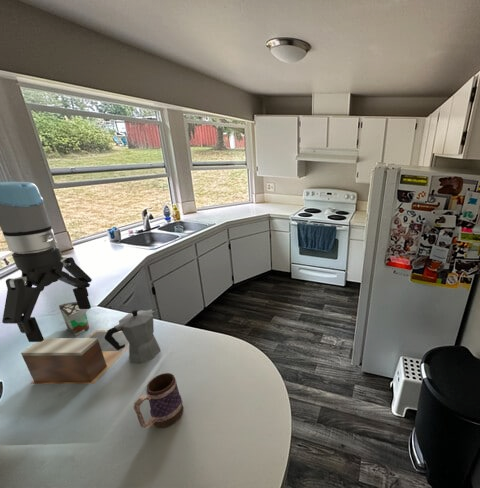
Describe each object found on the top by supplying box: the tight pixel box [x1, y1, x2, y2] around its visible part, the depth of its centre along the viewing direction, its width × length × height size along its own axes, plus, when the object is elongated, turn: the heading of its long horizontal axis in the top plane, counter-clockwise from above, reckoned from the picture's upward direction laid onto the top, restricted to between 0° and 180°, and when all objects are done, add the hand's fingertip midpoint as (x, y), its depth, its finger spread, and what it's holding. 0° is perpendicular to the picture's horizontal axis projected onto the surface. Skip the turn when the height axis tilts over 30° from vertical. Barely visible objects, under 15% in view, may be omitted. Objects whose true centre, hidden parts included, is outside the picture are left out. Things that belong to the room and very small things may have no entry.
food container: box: [58, 301, 90, 337], centre depth 96 cm, size 12×6×10 cm, turn 58°
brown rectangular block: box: [20, 337, 107, 383], centre depth 75 cm, size 16×6×11 cm, turn 93°
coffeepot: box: [105, 308, 161, 364], centre depth 82 cm, size 15×9×18 cm, turn 153°
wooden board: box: [29, 329, 129, 385], centre depth 85 cm, size 18×24×1 cm
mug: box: [133, 372, 184, 429], centre depth 63 cm, size 10×7×12 cm
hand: (63, 323), depth 66 cm, fingers open, 13 cm apart
